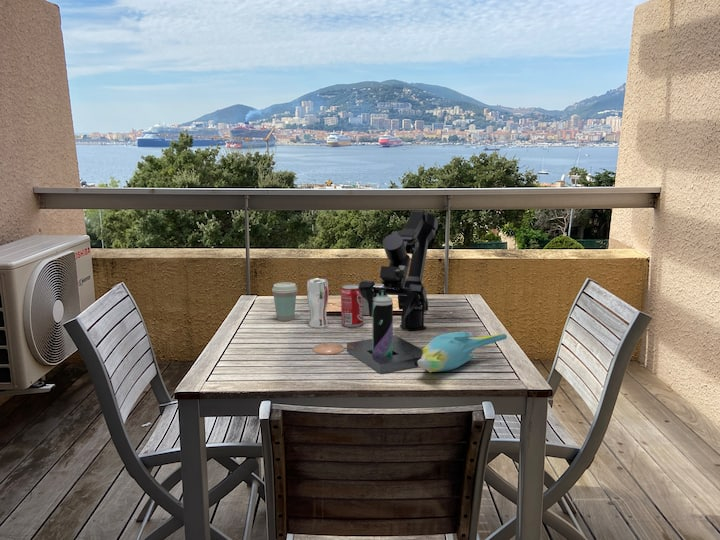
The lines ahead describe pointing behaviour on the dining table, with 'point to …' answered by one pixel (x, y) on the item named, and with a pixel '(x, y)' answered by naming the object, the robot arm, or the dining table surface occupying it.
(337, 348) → the terracotta coaster
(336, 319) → the dining table surface
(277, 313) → the coffee cup
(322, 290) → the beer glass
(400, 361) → the square hole plate
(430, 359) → the decorative bird
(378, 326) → the spray can
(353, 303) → the soda can
